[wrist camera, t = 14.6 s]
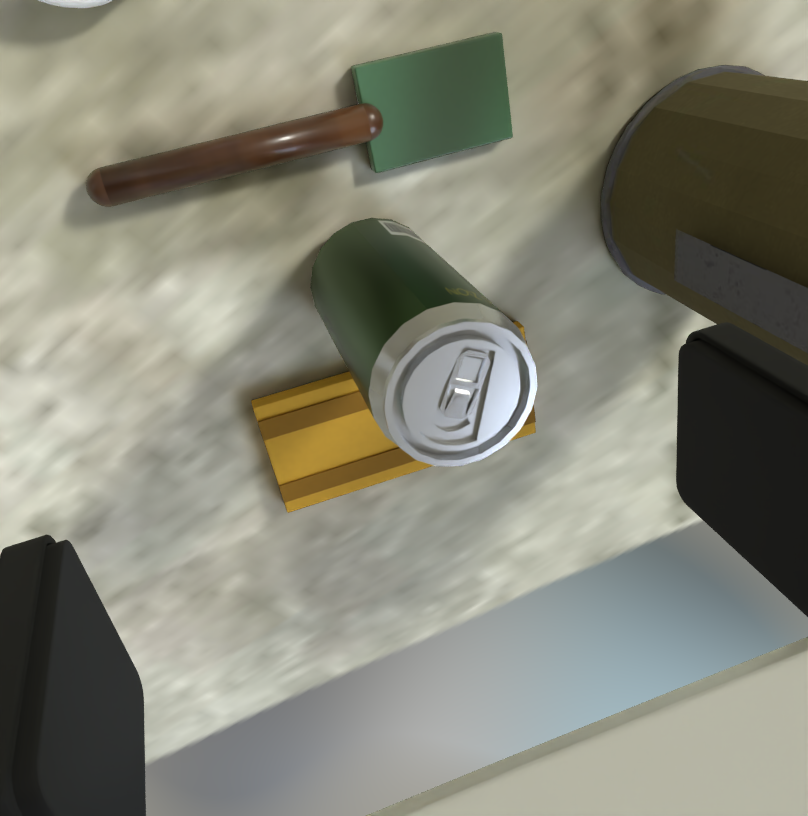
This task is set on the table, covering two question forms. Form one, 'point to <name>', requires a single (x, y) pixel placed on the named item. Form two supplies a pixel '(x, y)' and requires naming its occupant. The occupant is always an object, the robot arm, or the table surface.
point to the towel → (332, 441)
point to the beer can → (422, 344)
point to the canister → (718, 201)
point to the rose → (76, 3)
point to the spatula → (349, 124)
